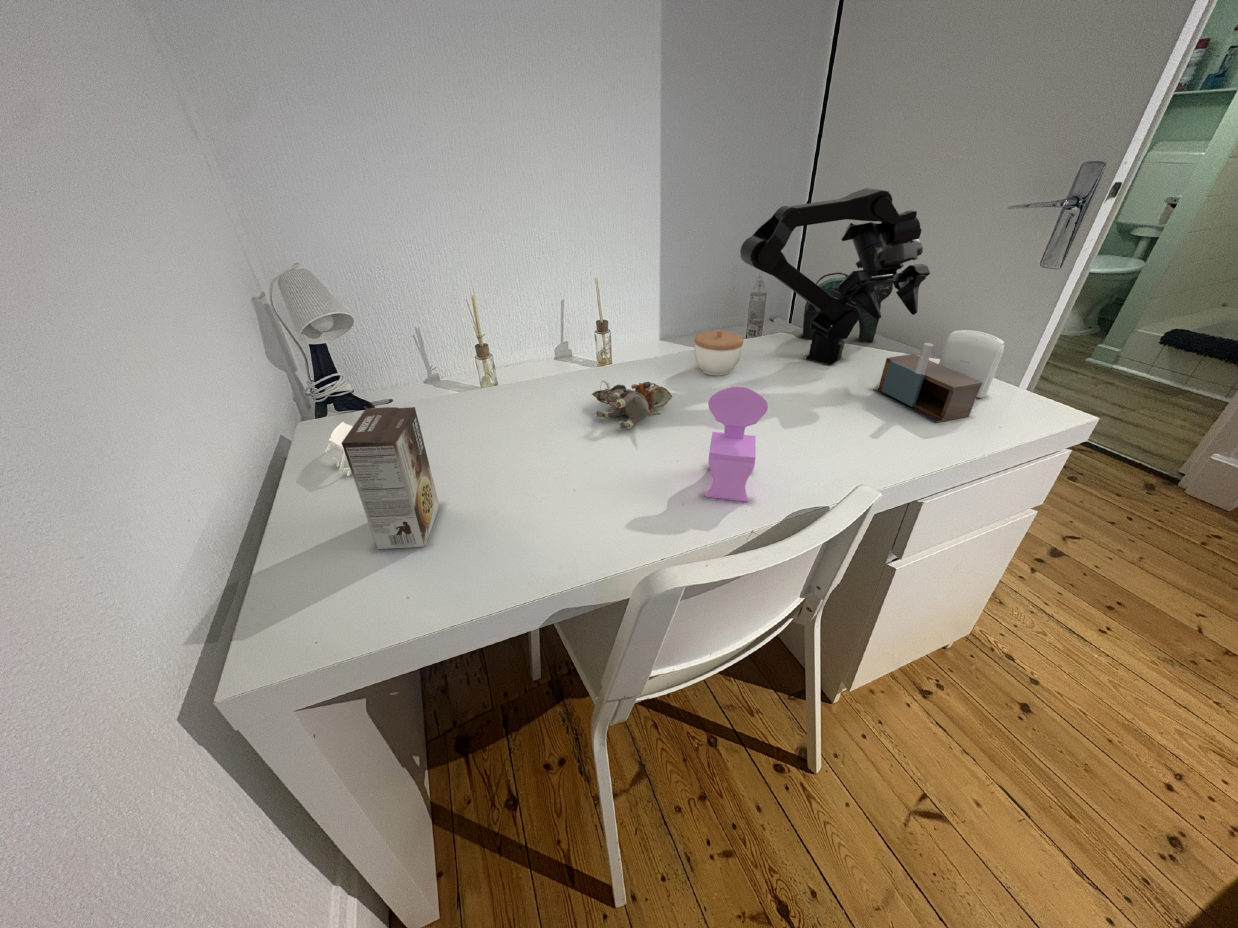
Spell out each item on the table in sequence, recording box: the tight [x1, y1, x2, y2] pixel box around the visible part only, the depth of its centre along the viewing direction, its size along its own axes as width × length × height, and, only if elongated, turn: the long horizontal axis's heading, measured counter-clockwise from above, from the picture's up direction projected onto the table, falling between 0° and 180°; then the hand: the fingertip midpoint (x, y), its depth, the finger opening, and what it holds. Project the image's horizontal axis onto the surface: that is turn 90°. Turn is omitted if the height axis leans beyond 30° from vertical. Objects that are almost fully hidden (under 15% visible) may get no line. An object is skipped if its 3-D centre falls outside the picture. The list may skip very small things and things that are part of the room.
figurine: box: [591, 380, 673, 430], centre depth 99 cm, size 20×6×17 cm
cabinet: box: [872, 353, 982, 424], centre depth 101 cm, size 16×8×7 cm, turn 19°
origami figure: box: [324, 421, 354, 477], centre depth 85 cm, size 12×8×5 cm
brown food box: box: [341, 406, 440, 550], centre depth 66 cm, size 9×6×16 cm
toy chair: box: [704, 385, 769, 502], centre depth 74 cm, size 8×9×15 cm
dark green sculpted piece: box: [802, 259, 894, 343], centre depth 131 cm, size 20×6×20 cm, turn 77°
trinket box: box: [693, 329, 744, 377], centre depth 115 cm, size 11×11×9 cm
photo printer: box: [938, 329, 1006, 399], centre depth 104 cm, size 10×4×12 cm, turn 39°
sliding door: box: [881, 342, 934, 407], centre depth 99 cm, size 8×2×12 cm, turn 19°
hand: (897, 316), depth 106 cm, fingers open, 9 cm apart
